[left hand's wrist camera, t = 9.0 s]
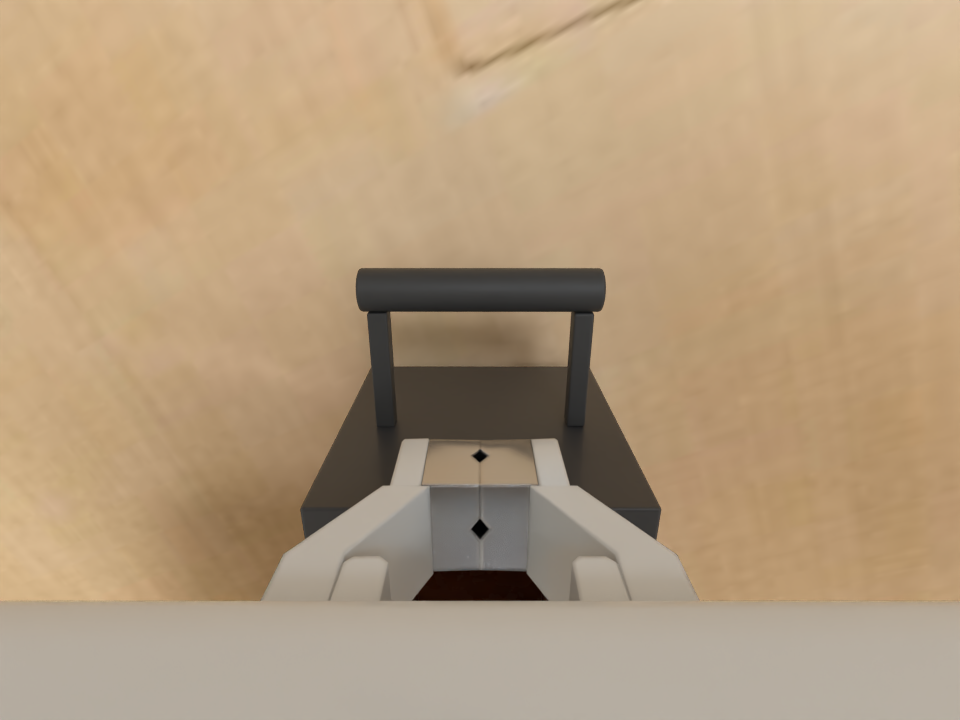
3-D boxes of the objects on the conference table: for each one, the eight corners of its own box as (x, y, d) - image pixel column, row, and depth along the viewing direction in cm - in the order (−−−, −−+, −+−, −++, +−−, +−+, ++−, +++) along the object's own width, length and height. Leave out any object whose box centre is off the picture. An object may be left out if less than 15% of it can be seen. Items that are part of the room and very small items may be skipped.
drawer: (360, 241, 20) (267, 311, 11) (600, 241, 20) (694, 312, 11) (393, 630, 27) (353, 851, 19) (566, 630, 27) (607, 852, 19)
